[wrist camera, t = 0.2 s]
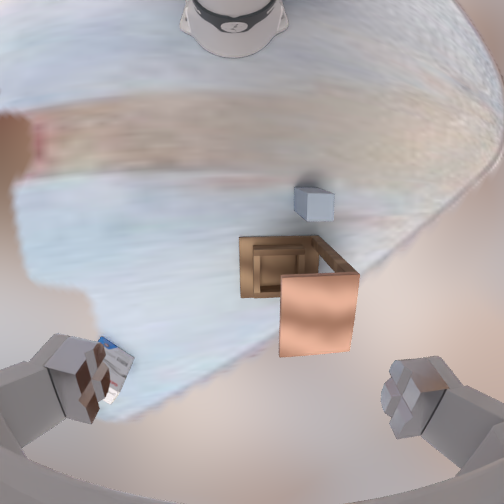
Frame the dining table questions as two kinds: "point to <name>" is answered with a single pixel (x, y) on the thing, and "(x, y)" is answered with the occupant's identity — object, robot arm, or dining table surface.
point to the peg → (314, 204)
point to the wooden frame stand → (302, 291)
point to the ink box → (115, 368)
